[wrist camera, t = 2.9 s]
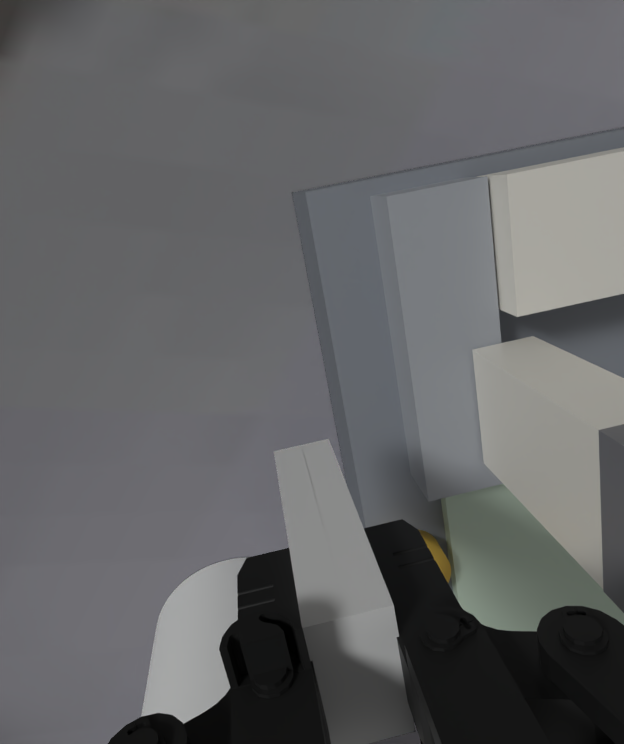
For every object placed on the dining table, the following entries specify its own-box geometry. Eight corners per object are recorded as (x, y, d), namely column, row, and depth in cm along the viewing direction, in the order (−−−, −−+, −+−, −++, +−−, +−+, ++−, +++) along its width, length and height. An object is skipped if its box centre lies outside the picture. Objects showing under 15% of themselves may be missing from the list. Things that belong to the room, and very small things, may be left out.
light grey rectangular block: (483, 464, 19) (652, 643, 12) (471, 349, 18) (653, 464, 10) (541, 449, 19) (746, 618, 12) (533, 335, 18) (758, 439, 10)
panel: (377, 650, 29) (423, 788, 22) (292, 192, 22) (319, 191, 15) (641, 581, 30) (761, 694, 23) (639, 124, 23) (809, 94, 16)
